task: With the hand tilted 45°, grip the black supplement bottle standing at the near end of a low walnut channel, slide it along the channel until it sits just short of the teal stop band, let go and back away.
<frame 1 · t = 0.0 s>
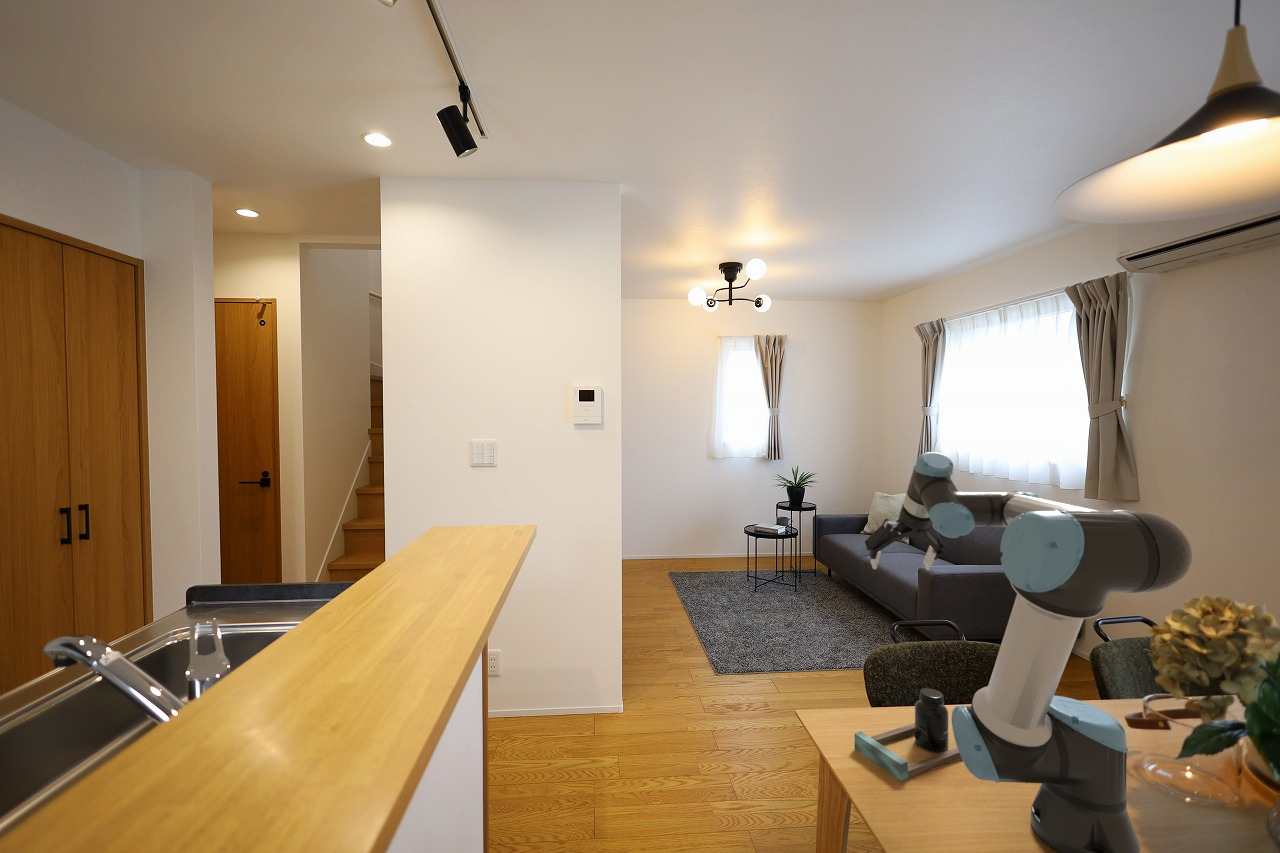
hand: (899, 565, 147), 36 cm above the table, tool tilted 35°, fingers open, 13 cm apart
channel: (912, 751, 124), on the table
supplement bottle: (931, 746, 127), on the table
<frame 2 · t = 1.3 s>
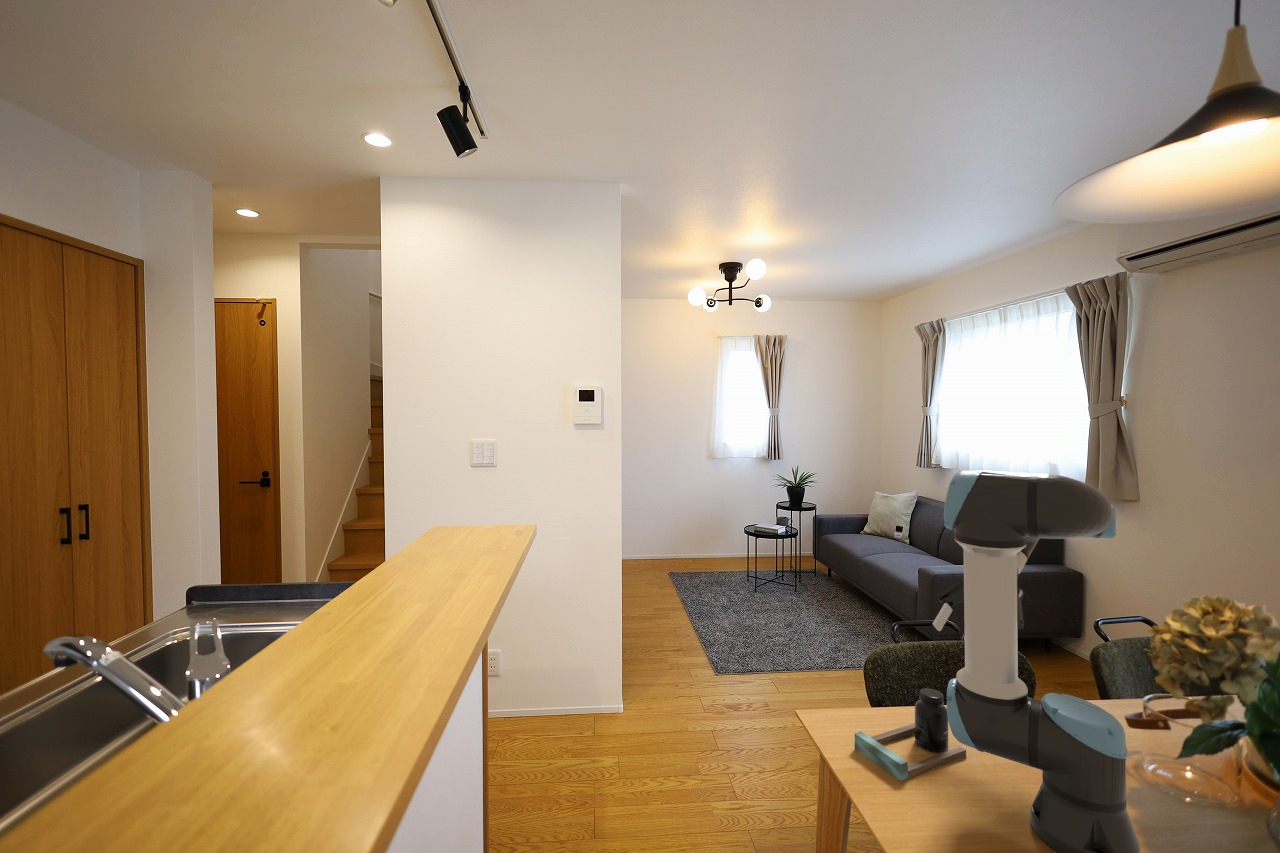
hand: (962, 637, 131), 23 cm above the table, tool tilted 45°, fingers open, 13 cm apart
nothing on the table moved.
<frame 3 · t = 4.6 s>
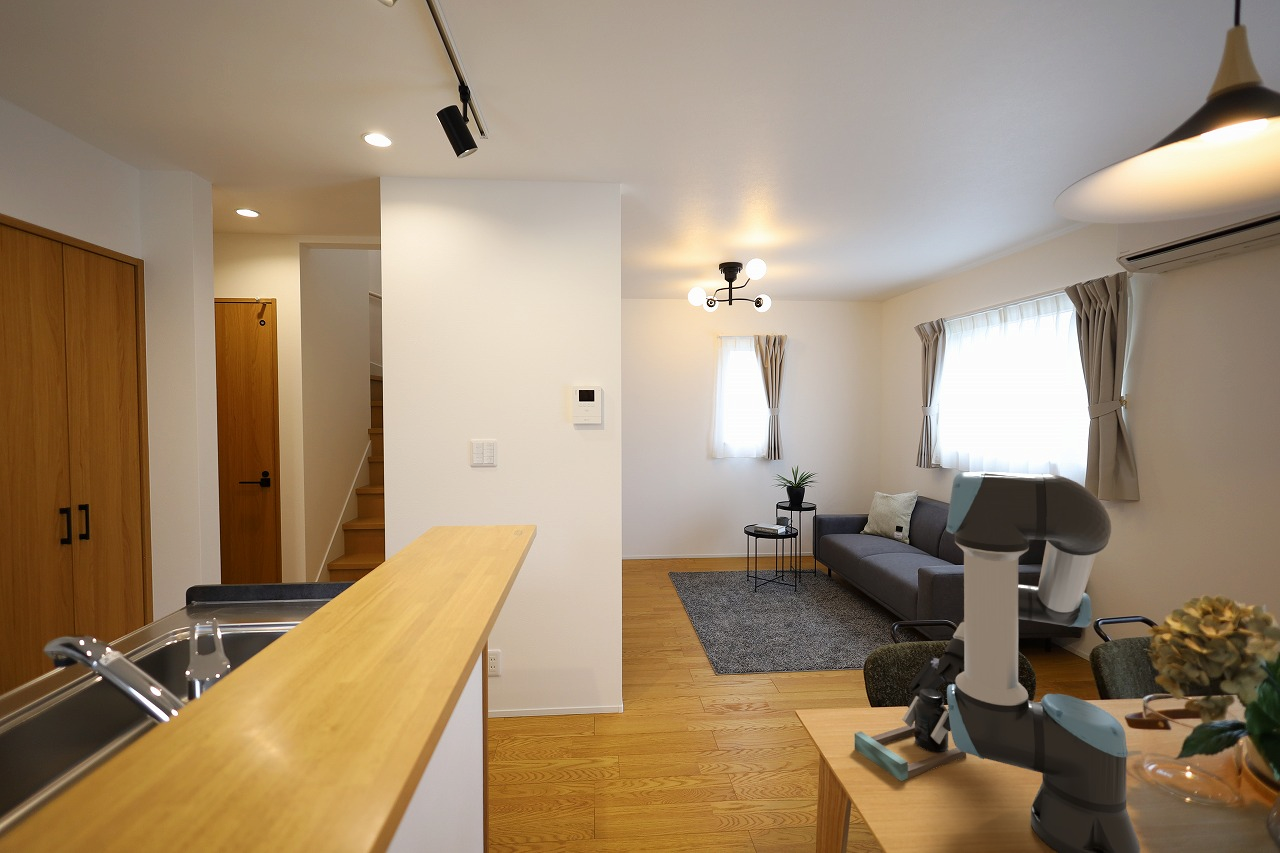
hand: (920, 731, 125), 4 cm above the table, tool tilted 45°, fingers closed on supplement bottle, 7 cm apart
supplement bottle: (931, 746, 127), on the table, touching gripper
when the fingers open (5 cm above the table, at t = 7.9 s): supplement bottle stays where it is, on the table.
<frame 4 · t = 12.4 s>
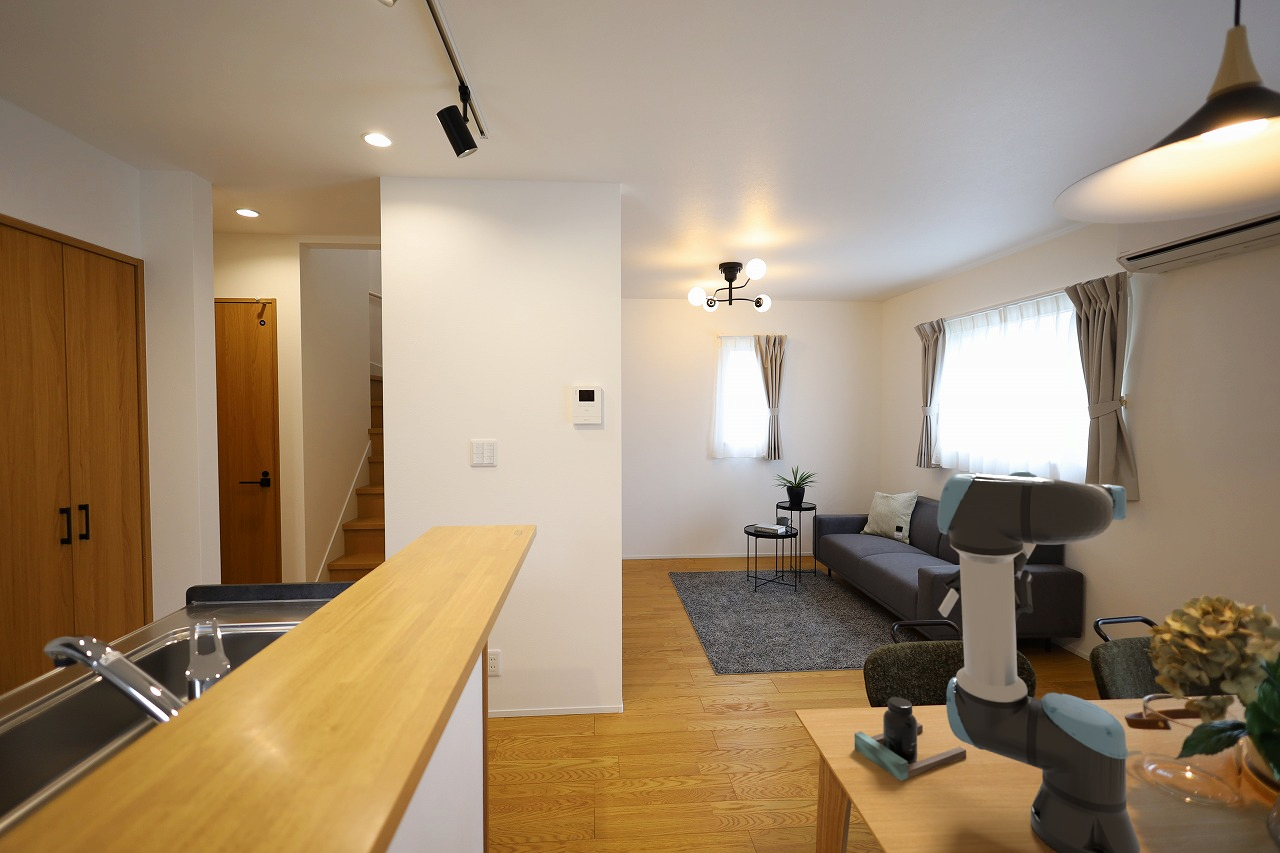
hand: (968, 623, 127), 28 cm above the table, tool tilted 45°, fingers open, 13 cm apart
supplement bottle: (900, 757, 123), on the table
at the end: supplement bottle inside the target area (0.3 cm from its centre), on the table; supplement bottle tilted 0°; the gripper is holding nothing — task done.
